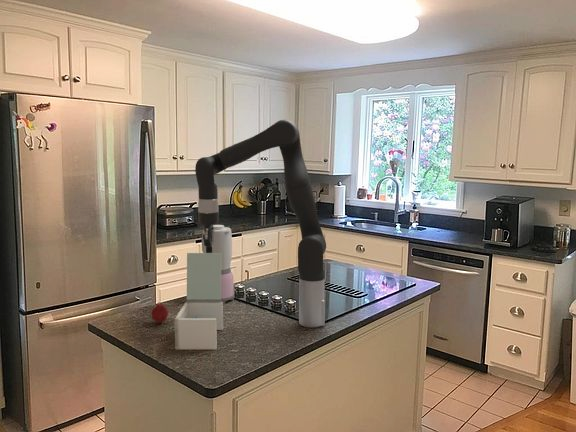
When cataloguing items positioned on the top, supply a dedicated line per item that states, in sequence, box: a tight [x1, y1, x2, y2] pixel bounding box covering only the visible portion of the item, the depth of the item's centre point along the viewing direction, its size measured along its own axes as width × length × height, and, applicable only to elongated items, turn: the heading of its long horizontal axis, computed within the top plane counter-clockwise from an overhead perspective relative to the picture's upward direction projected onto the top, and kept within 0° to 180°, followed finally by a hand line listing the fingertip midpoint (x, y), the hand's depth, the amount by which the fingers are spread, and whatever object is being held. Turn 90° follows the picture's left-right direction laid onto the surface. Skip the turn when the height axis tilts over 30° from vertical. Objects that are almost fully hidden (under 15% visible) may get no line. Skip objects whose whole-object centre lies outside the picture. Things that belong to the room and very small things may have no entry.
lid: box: [186, 252, 221, 302], centre depth 168 cm, size 12×17×1 cm
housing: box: [173, 301, 224, 350], centre depth 161 cm, size 13×17×10 cm
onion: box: [150, 301, 169, 324], centre depth 175 cm, size 6×6×8 cm
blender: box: [201, 224, 235, 305], centre depth 201 cm, size 16×12×32 cm
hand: (209, 255), depth 180 cm, fingers closed
